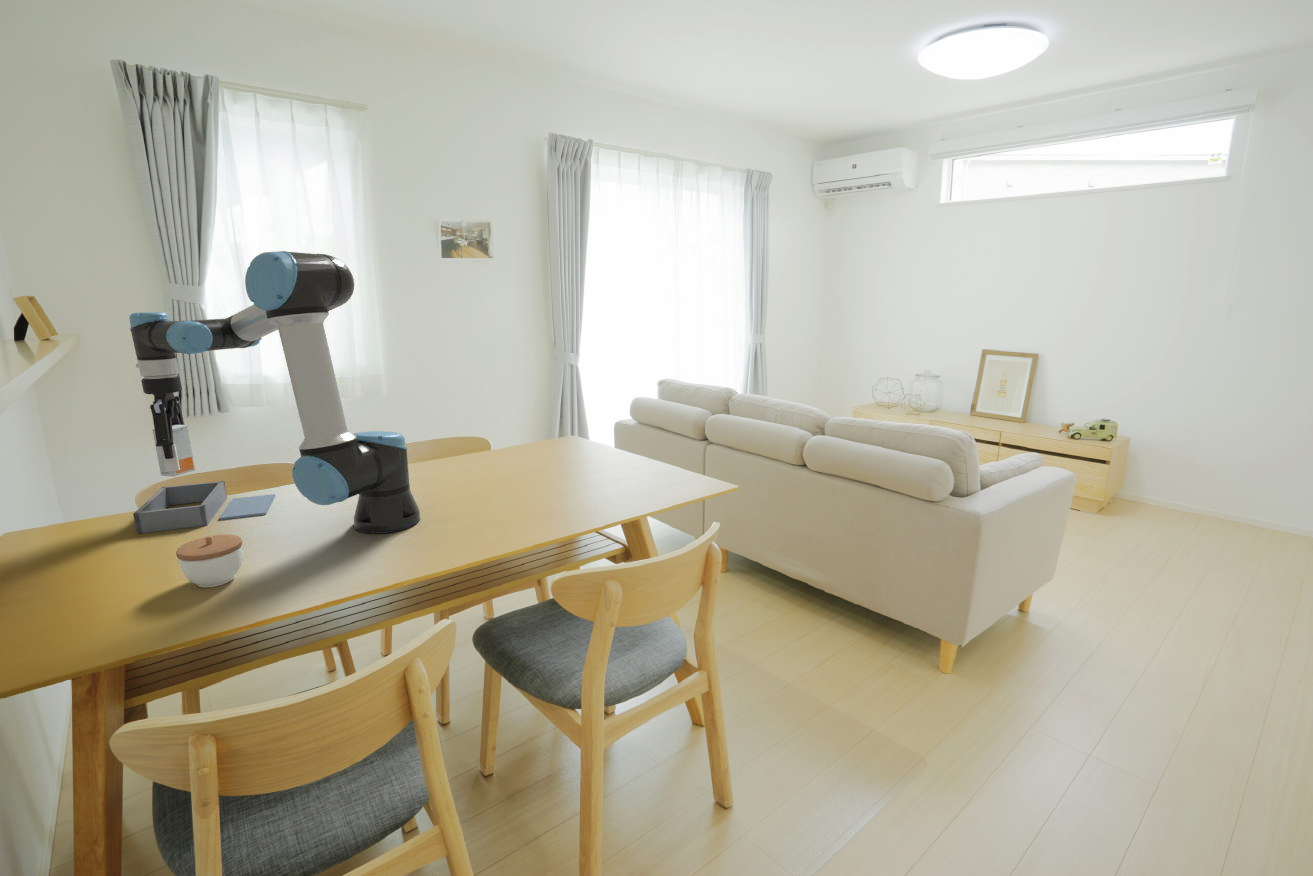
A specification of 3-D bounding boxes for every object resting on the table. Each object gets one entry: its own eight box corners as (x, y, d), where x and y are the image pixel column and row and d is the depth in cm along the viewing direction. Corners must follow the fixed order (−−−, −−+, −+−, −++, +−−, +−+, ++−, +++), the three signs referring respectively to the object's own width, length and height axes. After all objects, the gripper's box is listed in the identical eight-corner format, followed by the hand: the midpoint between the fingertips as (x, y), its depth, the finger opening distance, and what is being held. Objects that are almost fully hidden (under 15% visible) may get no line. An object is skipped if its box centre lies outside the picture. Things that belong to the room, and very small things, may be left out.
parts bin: (207, 525, 155) (204, 506, 154) (137, 533, 149) (133, 513, 148) (227, 498, 174) (224, 480, 173) (165, 504, 169) (162, 486, 168)
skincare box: (174, 477, 156) (165, 429, 153) (160, 476, 157) (151, 429, 154) (196, 470, 162) (188, 424, 159) (183, 469, 163) (174, 424, 160)
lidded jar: (204, 569, 131) (196, 527, 128) (258, 568, 132) (251, 526, 129) (169, 594, 120) (160, 548, 118) (228, 592, 121) (220, 547, 119)
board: (265, 514, 162) (265, 512, 162) (219, 520, 158) (219, 517, 158) (275, 496, 176) (275, 494, 176) (233, 500, 173) (233, 498, 172)
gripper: (154, 372, 161) (171, 458, 166) (126, 382, 143) (146, 479, 148) (190, 370, 164) (205, 455, 169) (166, 380, 146) (184, 475, 151)
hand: (177, 466), depth 159 cm, fingers closed on skincare box, 7 cm apart
